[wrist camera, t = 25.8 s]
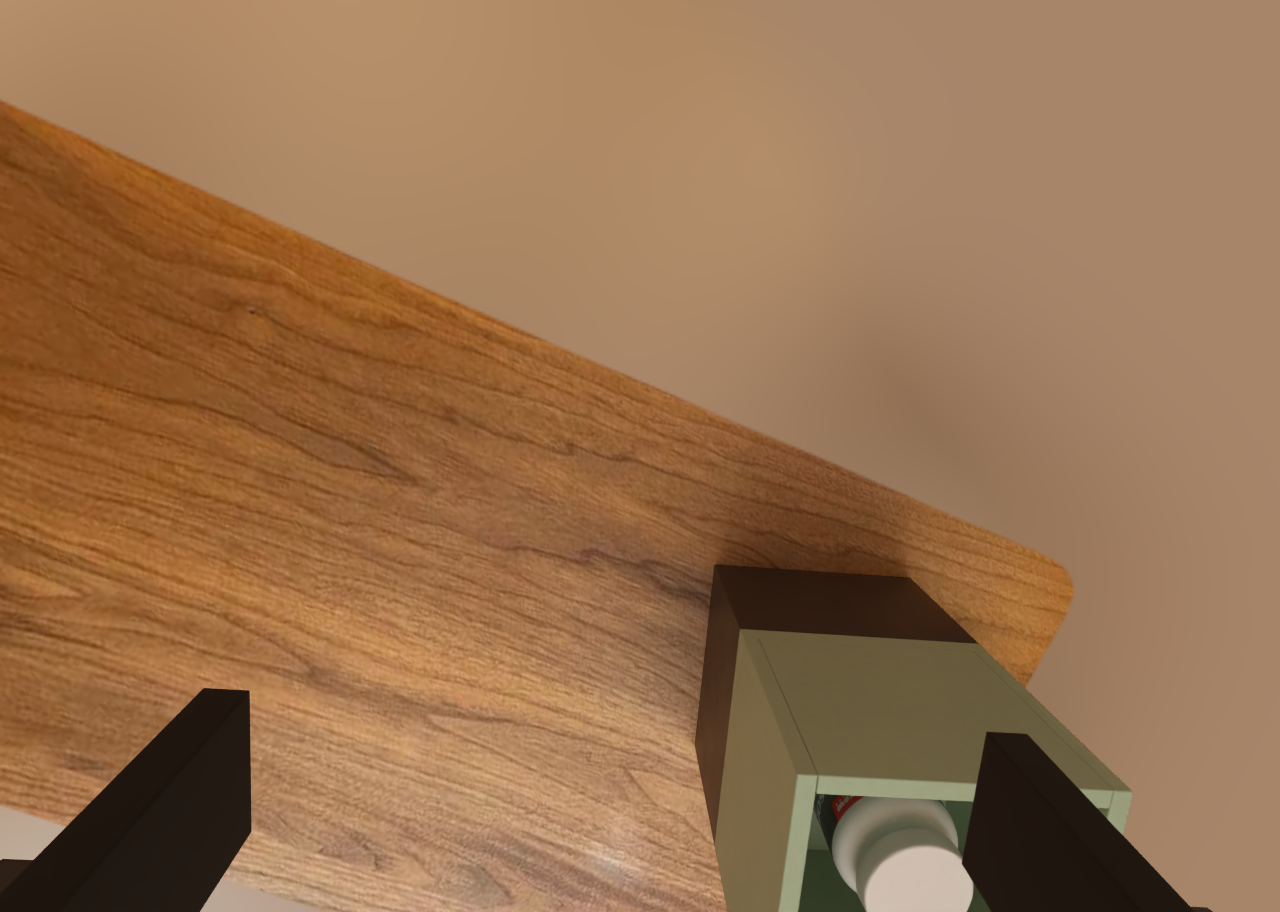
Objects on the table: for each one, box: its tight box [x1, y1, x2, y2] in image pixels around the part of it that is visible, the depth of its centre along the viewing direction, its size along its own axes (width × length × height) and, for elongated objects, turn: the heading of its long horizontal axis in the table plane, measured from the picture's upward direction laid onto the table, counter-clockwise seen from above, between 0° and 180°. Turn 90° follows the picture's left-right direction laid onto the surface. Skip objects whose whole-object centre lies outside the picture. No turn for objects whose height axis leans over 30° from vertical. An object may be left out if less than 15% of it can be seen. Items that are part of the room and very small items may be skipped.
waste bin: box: [695, 565, 1133, 912], centre depth 43 cm, size 13×13×23 cm
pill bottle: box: [813, 792, 973, 912], centre depth 39 cm, size 6×6×10 cm
